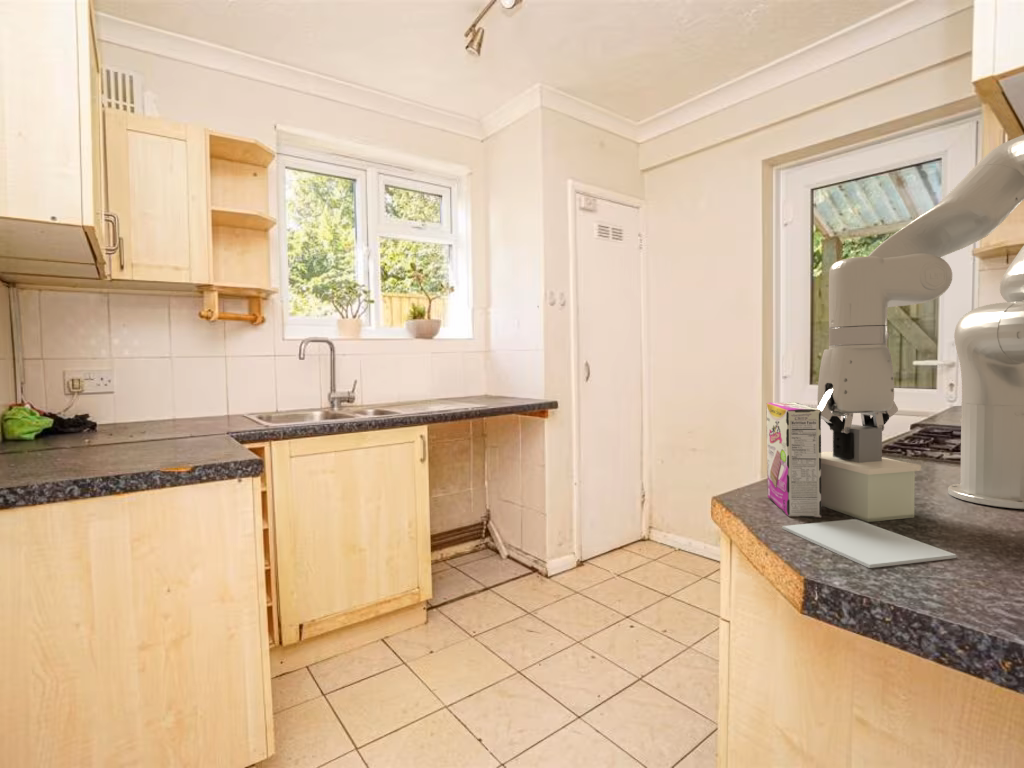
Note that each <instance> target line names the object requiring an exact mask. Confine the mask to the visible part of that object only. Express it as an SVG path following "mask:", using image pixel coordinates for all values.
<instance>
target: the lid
mask: <svg viewBox="0 0 1024 768" xmlns="http://www.w3.org/2000/svg"><path fill="white" fill-rule="evenodd" d="M850 433H853V434H854V458H853V459H844V458H840V457H836V456H834V432H833V431H832V451H821V463H822V464H826V465H831V466H835V467H839V468H843V469H847V470H851V471H855V472H859V473H863V474H867V475H872V474H885V473H897V472H910V471H915V472H919V471H920V472H921V471H922V465H921V464H916V463H913V462H907V461H902V460H897V459H892V458H887V457H883V431H882V428H875V427H868V426H863V425H862V424H852V425H851V431H850Z"/></svg>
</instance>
